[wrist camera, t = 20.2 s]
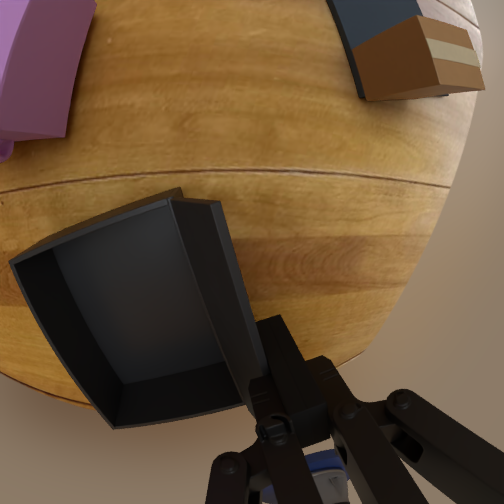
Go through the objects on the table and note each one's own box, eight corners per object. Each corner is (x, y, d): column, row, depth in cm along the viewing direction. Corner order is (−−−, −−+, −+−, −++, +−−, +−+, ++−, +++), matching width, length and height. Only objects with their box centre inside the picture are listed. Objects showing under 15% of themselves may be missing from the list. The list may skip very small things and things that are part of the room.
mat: (442, 96, 22) (449, 95, 22) (358, 98, 21) (364, 96, 20) (389, -39, 16) (393, -42, 15) (299, -55, 15) (302, -60, 14)
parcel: (414, 99, 21) (486, 90, 13) (365, 101, 21) (440, 84, 12) (401, 52, 19) (467, 29, 11) (350, 49, 19) (416, 13, 10)
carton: (46, 236, 20) (8, 261, 14) (180, 186, 21) (173, 195, 15) (122, 384, 26) (112, 429, 20) (237, 357, 27) (249, 404, 21)
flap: (209, 204, 9) (220, 200, 9) (169, 199, 15) (176, 197, 15) (293, 462, 15) (298, 459, 15) (248, 410, 20) (252, 408, 20)
